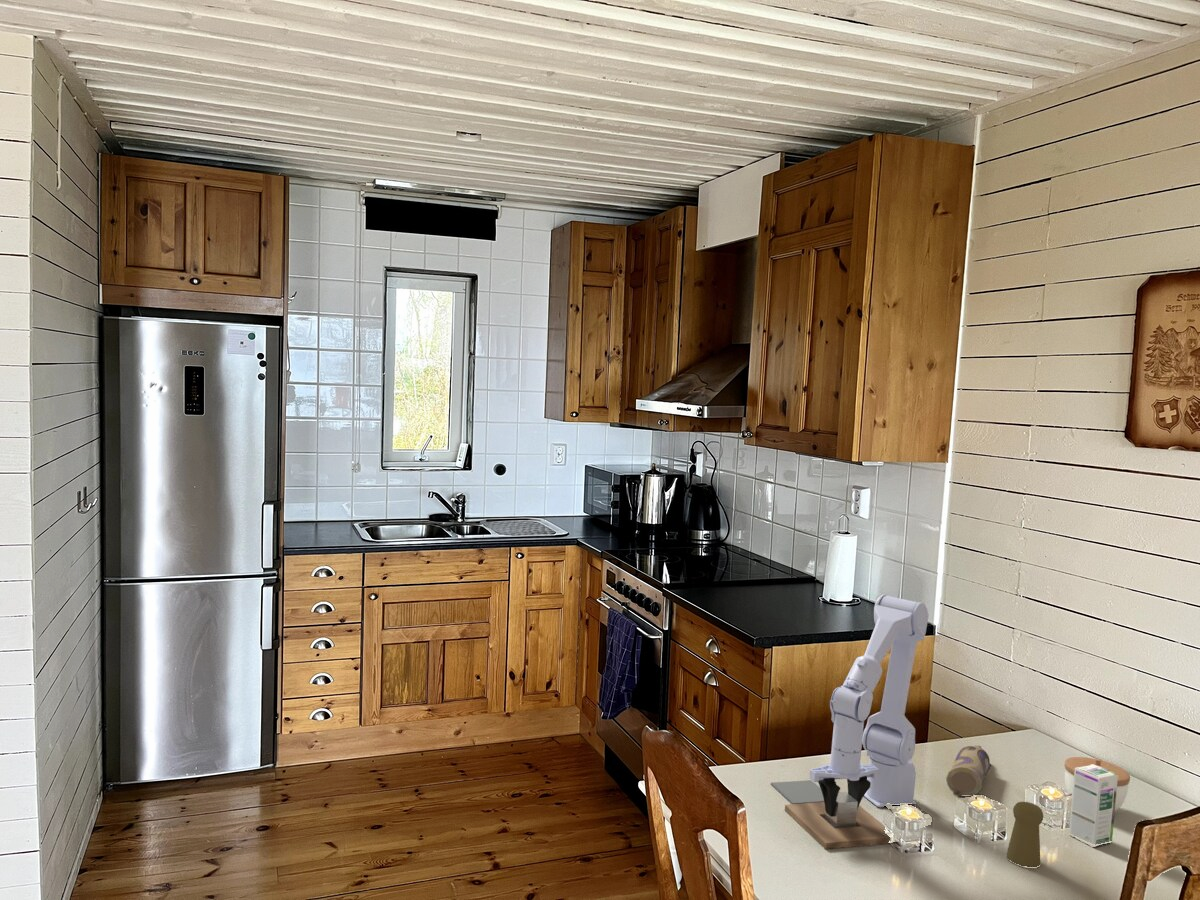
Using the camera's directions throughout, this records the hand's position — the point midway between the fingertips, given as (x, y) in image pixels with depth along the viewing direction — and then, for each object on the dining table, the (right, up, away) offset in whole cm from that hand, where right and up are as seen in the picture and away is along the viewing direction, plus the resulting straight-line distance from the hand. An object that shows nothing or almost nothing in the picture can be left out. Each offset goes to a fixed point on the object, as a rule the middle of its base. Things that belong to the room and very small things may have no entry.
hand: (840, 813), depth 181 cm
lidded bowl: (+60, -6, +18) cm, 63 cm away
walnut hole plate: (0, -3, 0) cm, 3 cm away
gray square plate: (-4, -1, +15) cm, 15 cm away
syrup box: (+51, -6, +2) cm, 52 cm away
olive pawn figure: (+33, -6, -9) cm, 34 cm away
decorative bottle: (+39, -4, +29) cm, 48 cm away
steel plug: (0, -3, 0) cm, 3 cm away
